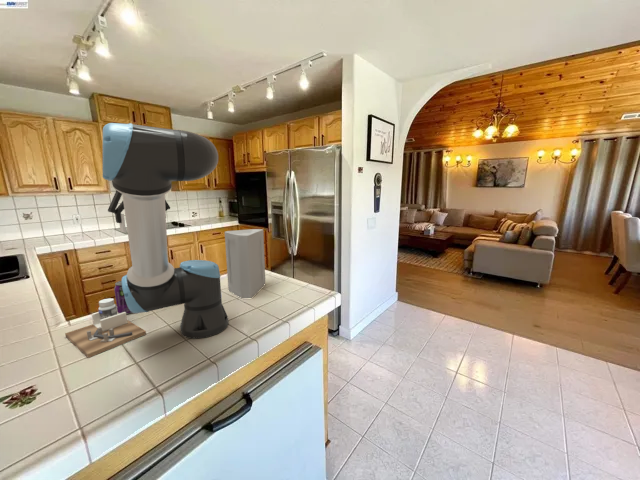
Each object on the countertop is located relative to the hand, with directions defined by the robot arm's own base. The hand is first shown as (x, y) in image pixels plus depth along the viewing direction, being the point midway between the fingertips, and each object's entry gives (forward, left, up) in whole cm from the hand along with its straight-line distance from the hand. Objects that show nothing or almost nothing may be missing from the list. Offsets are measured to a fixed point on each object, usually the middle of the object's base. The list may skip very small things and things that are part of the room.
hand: (143, 229), depth 101 cm
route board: (-10, +19, -32) cm, 38 cm away
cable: (-13, +19, -30) cm, 38 cm away
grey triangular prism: (-16, -33, -32) cm, 49 cm away
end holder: (-5, +16, -31) cm, 35 cm away
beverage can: (+4, +7, -32) cm, 33 cm away
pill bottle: (-5, +16, -30) cm, 35 cm away
